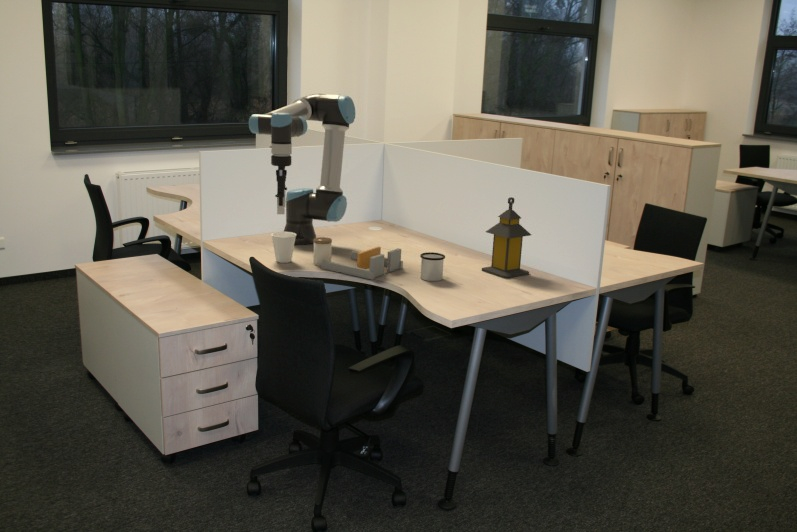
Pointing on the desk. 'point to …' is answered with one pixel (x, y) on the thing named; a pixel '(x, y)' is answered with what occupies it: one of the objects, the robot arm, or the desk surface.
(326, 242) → the jar
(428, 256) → the mug
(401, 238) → the desk surface
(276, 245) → the cup
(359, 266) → the pusher
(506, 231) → the lantern
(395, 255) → the lane
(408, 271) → the desk surface
